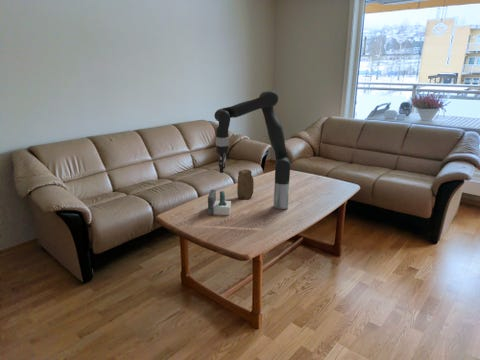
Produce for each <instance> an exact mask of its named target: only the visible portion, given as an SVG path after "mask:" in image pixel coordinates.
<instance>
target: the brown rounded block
mask: <svg viewBox="0 0 480 360" xmlns="http://www.w3.org/2000/svg"><path fill="white" fill-rule="evenodd" d="M252 174H253V173H252V170H250V169H246V168H245V169H242V170H238V176H237V188H236V190H237V191H236V192H237V194H236V195H237V197H238V199H240V200H249V199H250V198H252V196H253V194H254V186H255V183H254V178H253V175H252Z"/></svg>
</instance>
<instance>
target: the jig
mask: <svg viewBox="0 0 480 360" xmlns="http://www.w3.org/2000/svg"><path fill="white" fill-rule="evenodd" d="M215 201H217V191H216V189H210V192H209V194H208V196H207V215H208V216H214V214H213V206H214V203H215Z"/></svg>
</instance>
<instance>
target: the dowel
mask: <svg viewBox="0 0 480 360" xmlns="http://www.w3.org/2000/svg"><path fill="white" fill-rule="evenodd" d="M219 201H220V205H223V206H225V201H226V191H224V190H220V191H219Z"/></svg>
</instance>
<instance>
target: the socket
mask: <svg viewBox="0 0 480 360" xmlns="http://www.w3.org/2000/svg"><path fill="white" fill-rule="evenodd" d="M231 210H232V201H231V200H225V206H223V205H220V200H216V201H215V203H214V206H213V215H219V216H220V215H223V216H230V215H231V214H230V213H231Z"/></svg>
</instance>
